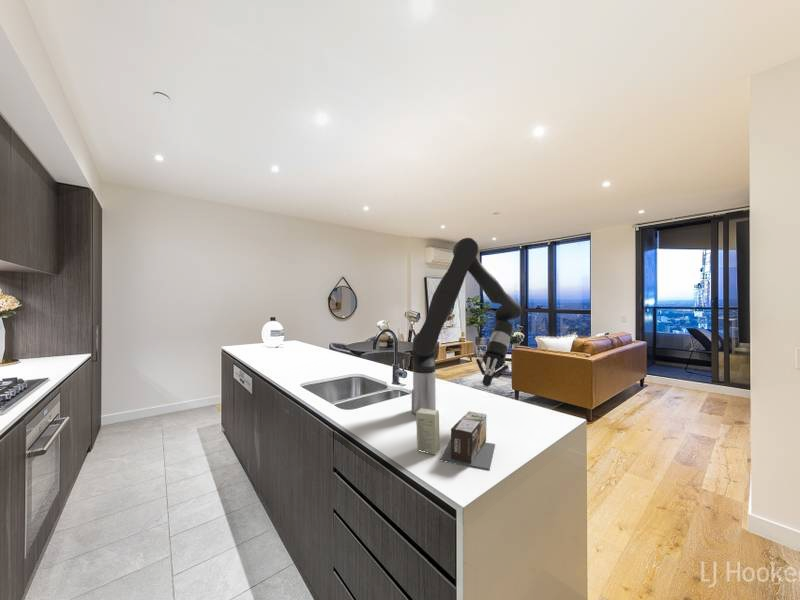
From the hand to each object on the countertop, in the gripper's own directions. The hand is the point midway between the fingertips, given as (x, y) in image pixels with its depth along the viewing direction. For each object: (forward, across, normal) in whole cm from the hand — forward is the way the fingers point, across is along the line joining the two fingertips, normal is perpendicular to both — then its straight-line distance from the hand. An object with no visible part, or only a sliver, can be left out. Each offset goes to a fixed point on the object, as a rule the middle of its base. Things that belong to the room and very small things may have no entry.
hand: (485, 385), depth 117 cm
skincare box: (+30, -7, -12) cm, 33 cm away
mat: (+25, +4, -9) cm, 27 cm away
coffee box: (+16, +3, -4) cm, 17 cm away
